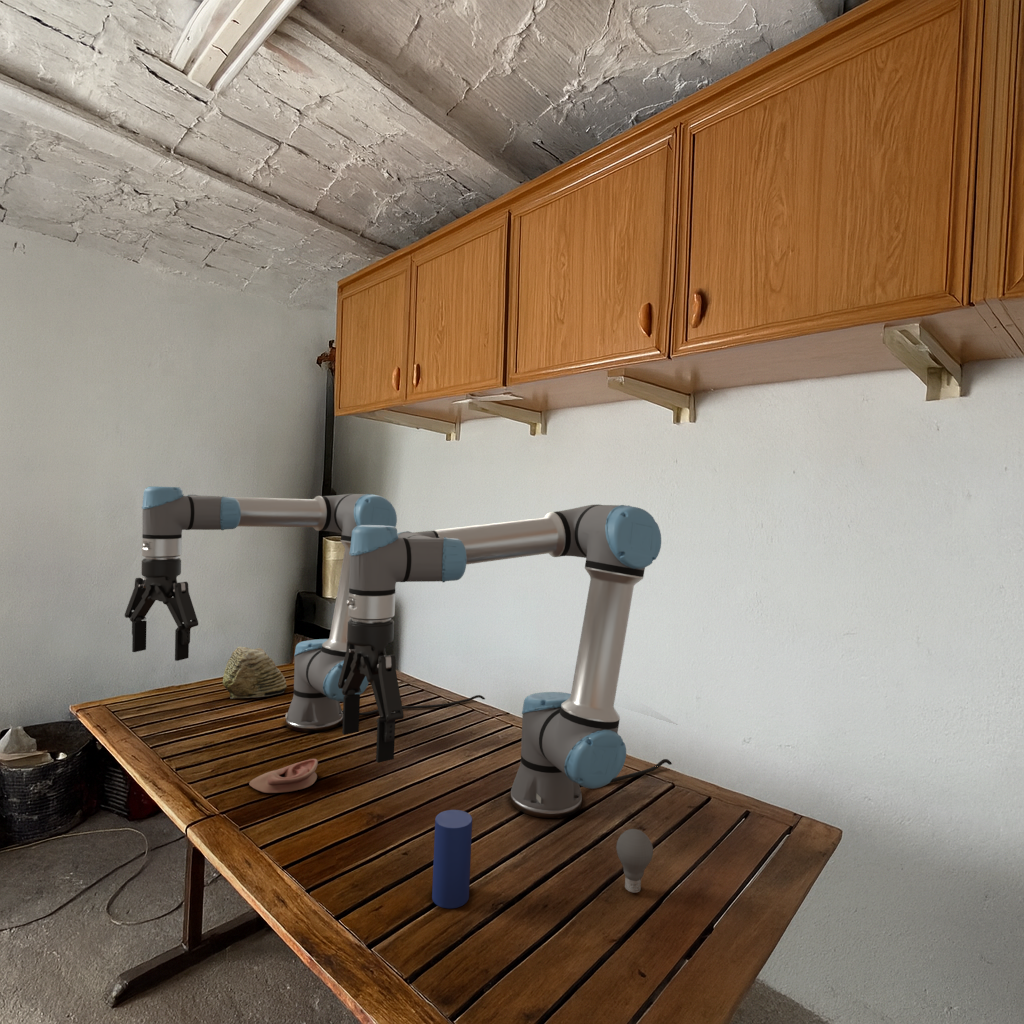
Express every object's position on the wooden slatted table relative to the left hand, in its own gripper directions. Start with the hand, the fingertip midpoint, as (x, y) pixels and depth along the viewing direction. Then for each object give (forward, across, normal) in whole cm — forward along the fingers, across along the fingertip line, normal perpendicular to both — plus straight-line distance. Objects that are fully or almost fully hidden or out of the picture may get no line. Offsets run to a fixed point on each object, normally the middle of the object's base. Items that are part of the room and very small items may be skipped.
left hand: (160, 655), depth 138 cm
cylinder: (+28, +77, -5) cm, 82 cm away
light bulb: (+28, +103, +10) cm, 107 cm away
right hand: (+5, +62, -8) cm, 62 cm away
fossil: (+28, -28, +53) cm, 66 cm away
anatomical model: (+28, +24, +12) cm, 39 cm away
